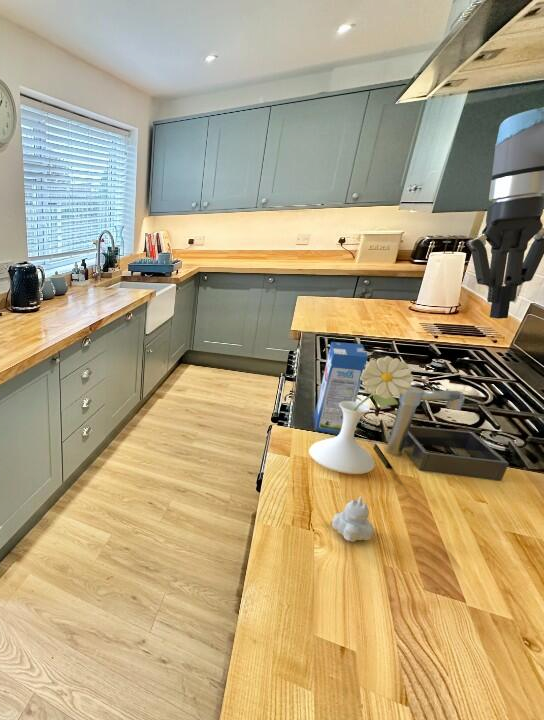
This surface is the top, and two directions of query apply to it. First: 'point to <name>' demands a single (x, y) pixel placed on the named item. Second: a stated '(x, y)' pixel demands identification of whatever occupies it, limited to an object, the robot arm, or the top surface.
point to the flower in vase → (343, 449)
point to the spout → (432, 397)
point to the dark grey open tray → (479, 466)
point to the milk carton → (339, 384)
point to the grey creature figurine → (354, 521)
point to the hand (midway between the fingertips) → (498, 317)
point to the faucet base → (398, 433)
